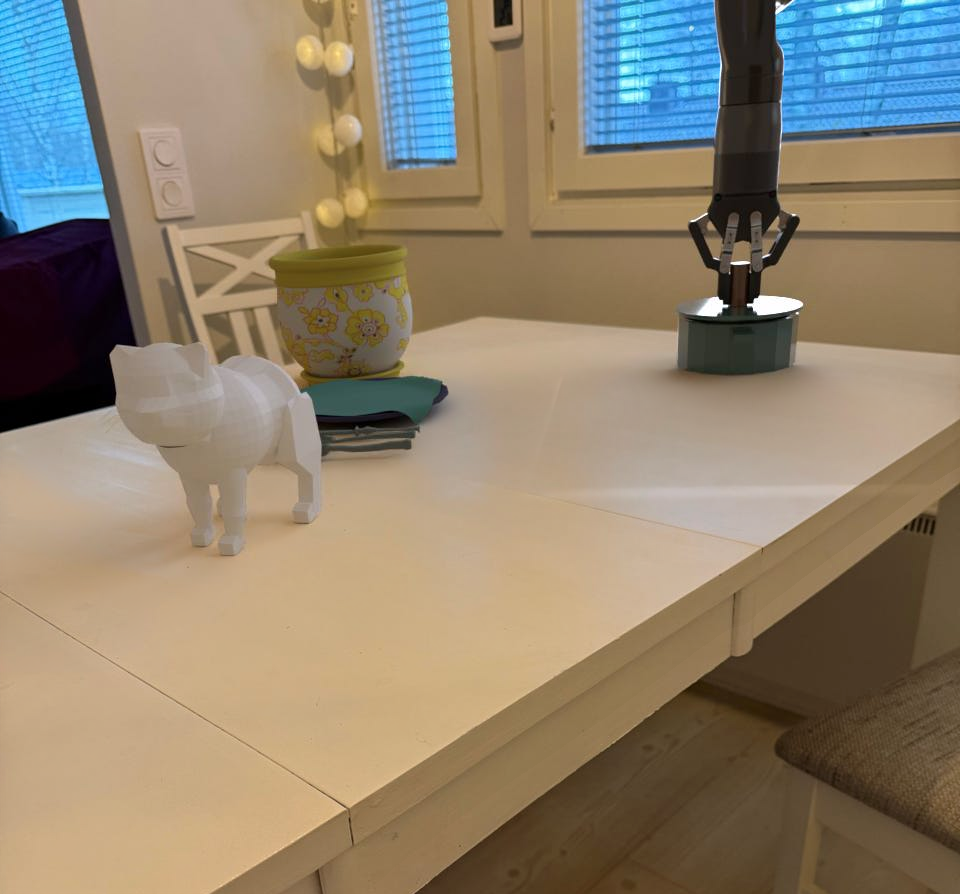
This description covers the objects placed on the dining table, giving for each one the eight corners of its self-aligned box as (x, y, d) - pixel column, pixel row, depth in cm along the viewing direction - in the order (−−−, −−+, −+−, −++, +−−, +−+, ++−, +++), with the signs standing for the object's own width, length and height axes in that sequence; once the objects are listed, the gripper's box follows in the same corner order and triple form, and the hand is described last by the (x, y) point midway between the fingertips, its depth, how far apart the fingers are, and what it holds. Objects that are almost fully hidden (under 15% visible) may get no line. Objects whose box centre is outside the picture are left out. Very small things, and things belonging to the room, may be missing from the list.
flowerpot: (330, 402, 119) (310, 263, 112) (265, 383, 132) (244, 257, 125) (444, 375, 129) (434, 246, 121) (373, 360, 142) (360, 242, 134)
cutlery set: (457, 388, 122) (455, 370, 121) (430, 457, 95) (428, 434, 94) (306, 396, 123) (303, 378, 122) (238, 465, 97) (234, 443, 96)
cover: (792, 302, 125) (796, 252, 122) (811, 322, 111) (816, 267, 108) (672, 307, 127) (673, 258, 125) (676, 328, 114) (678, 274, 111)
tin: (782, 348, 130) (786, 299, 127) (804, 382, 112) (810, 325, 109) (674, 353, 132) (675, 304, 129) (679, 386, 115) (681, 331, 112)
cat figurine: (263, 478, 93) (231, 299, 85) (362, 481, 90) (338, 296, 82) (108, 583, 72) (47, 358, 64) (231, 592, 69) (182, 357, 61)
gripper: (687, 153, 109) (682, 311, 117) (814, 144, 106) (800, 306, 114) (685, 152, 115) (680, 301, 123) (804, 144, 113) (791, 296, 121)
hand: (738, 303), depth 119 cm, fingers closed on cover, 2 cm apart
